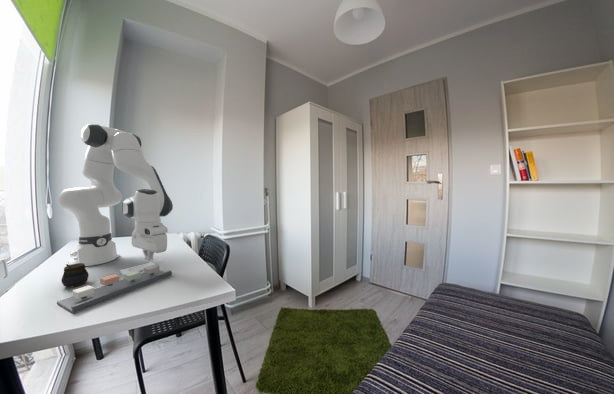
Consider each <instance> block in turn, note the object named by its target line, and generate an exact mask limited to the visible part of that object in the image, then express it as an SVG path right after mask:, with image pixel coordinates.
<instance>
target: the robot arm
mask: <svg viewBox="0 0 614 394" xmlns="http://www.w3.org/2000/svg"><path fill="white" fill-rule="evenodd" d="M80 137H81V140H82V142H83V143H84V145H87V146H88V147H87V149H86V152H85V154H84V155H85V156H84V161H83V165H82V175H83V176H84V177H85V178H86V179H89V181H90V182H91V186H89V187H88V186H87V187H86V186H84V187H83V186H81V187H80V186H77V187H73V188H72V187H71V188H66V189H63V190H61V192H60V193H59V195H58V202H59V204H60V205H61V206H62V208H64V209H66V210H68V211H70V212H71V213H72V214H73V215H74V216H75V217H76V218H75V219H77V222H78V226H79V235H80V236H79V237H78V240H77V241H78V245H77V246H76V247H75V248H74V250H73V251H71V252H70V257H71V258H70V259H67V262H68V265H71V264H76V263H84V264H85V267H91V266H96V265H102V264H106V263H109V262H111V261H112V262H113V261H114V260H115V259H117V258H119V257H120V256H121V254H120V253H118V252H117V246H116V242H115V241H113V235H112V234H113V233H112V232H111V223H110V218H108V216H106V215H103V214H102V213H101V211H100V210H99V209H102V208H109V207H113V206H116V205H119V204H120V203H121V202H122V204H121V205H122V206H121V207H122V208H121V209H122V214H123V216H125V217H126V218H129V219H134V229H133V231H132V232H131V246H132V247H134V248H137V249H141V250H142V253H143V255H144V259H145V260H146V261H153V259H154V255H155V254H160V253H163V252H166V251H167V249H168V234H166V233H168V230H169V229H168V227H167V226H165V225H164V223H162V222H161V221H162V217H166V216H168V215H169V214H171V212H172V211H173V201H172V200H171V198H170V196H169V195H168V193H167V192H166V189H165V187H164V185H163V183H162V180H161V178H160V176H159V174H158V172H157V170H156V168H155V167H154V166H152V165H150V163H148V161H147V160H146V158H145V157H144V155H143V150H142V140H141V138H140V137H139V136H137V135H136V134H134V133H131V132H127V131H125V130H122V129H118V128H112V127H108V126H103V125H100V124H95V123H88V124H86V125H84V126H83V128H81V135H80ZM115 167H116V169H117V170H119V171H121V172H122V173H124V174H127V175H129V176H133V177H137V178H139V179H142V180H144V181H145V182H146V183H147V184H148V185H149V187H150V189H147V188H142V189H138V190H136V191H135V192H134V195H133V196H130V197H126V199H125V200H123V195H122V192H121V191H120V189H118V188H117V187H116V185H115V182H114V172H115V170H114V169H115ZM122 200H123V201H122Z"/></svg>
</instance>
